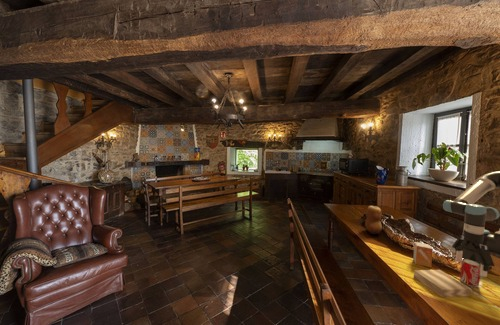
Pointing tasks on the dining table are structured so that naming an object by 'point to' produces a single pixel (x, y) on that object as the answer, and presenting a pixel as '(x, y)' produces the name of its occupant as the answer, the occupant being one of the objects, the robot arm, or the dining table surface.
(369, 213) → the butternut squash
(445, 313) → the dining table surface
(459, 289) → the square wooden board
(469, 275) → the soda can
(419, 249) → the small box
